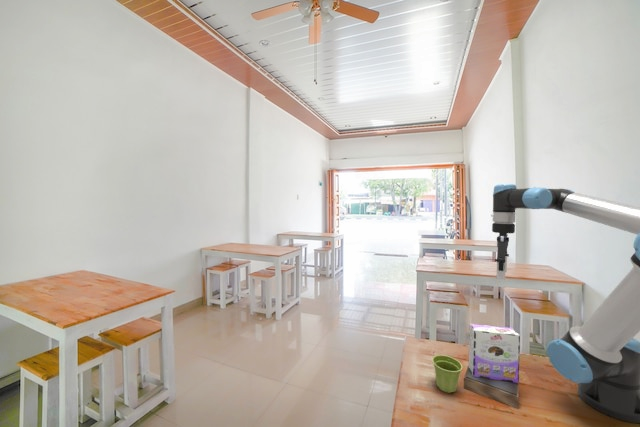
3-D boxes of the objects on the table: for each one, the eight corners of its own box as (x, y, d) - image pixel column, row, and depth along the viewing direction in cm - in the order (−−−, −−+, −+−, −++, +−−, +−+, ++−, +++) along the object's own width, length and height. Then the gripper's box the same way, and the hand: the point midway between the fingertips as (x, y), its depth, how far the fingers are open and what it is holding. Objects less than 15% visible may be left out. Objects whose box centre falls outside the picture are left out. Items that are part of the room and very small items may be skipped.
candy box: (511, 373, 93) (513, 327, 92) (519, 384, 87) (521, 335, 87) (467, 366, 97) (469, 322, 96) (472, 376, 91) (474, 329, 90)
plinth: (518, 392, 89) (518, 380, 89) (518, 408, 82) (518, 396, 82) (467, 374, 98) (468, 364, 98) (463, 387, 91) (464, 376, 91)
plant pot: (463, 384, 93) (463, 360, 93) (460, 401, 85) (461, 374, 85) (434, 375, 98) (434, 352, 98) (429, 389, 90) (429, 365, 90)
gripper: (494, 221, 119) (493, 267, 120) (489, 224, 99) (487, 280, 100) (515, 221, 114) (513, 270, 115) (514, 225, 94) (512, 284, 95)
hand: (501, 275), depth 107 cm, fingers open, 13 cm apart
